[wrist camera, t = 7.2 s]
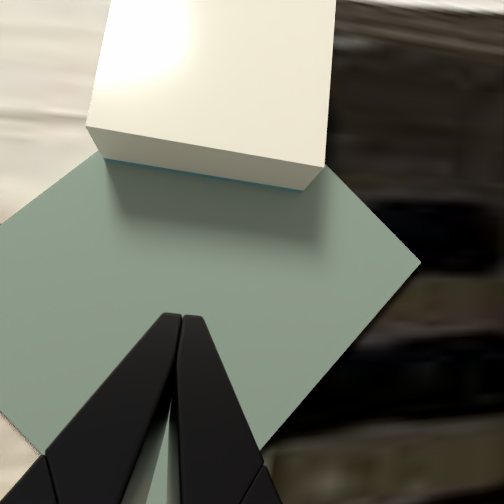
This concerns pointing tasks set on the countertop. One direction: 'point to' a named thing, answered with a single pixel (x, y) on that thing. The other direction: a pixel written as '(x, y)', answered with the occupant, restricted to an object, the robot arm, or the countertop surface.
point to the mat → (185, 287)
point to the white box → (216, 88)
